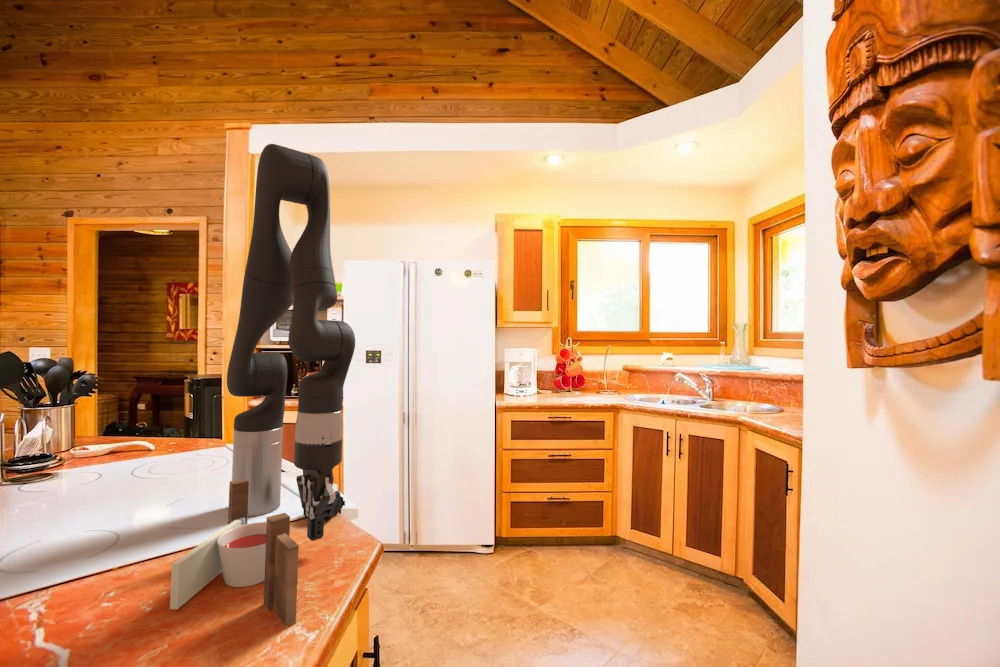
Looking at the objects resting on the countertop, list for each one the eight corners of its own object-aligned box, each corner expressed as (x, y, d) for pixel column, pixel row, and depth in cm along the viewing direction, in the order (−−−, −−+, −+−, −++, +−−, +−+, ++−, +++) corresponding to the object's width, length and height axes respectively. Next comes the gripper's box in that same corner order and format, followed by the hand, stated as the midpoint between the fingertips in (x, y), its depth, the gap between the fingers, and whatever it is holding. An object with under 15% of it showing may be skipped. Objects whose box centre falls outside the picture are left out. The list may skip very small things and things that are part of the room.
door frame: (226, 551, 73) (229, 481, 74) (242, 547, 75) (245, 478, 75) (281, 629, 55) (284, 534, 55) (300, 620, 56) (303, 528, 57)
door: (230, 552, 73) (231, 516, 73) (245, 553, 73) (246, 516, 73) (158, 610, 57) (160, 563, 57) (178, 610, 57) (180, 564, 57)
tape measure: (327, 525, 85) (328, 506, 85) (295, 522, 86) (296, 503, 86) (345, 512, 92) (345, 494, 92) (315, 509, 93) (315, 491, 93)
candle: (206, 596, 61) (207, 551, 61) (226, 564, 70) (228, 524, 70) (276, 588, 64) (277, 544, 64) (287, 557, 72) (289, 519, 72)
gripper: (282, 432, 75) (278, 531, 75) (312, 448, 66) (308, 561, 66) (324, 426, 81) (321, 519, 81) (358, 441, 71) (354, 545, 71)
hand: (315, 537), depth 73 cm, fingers closed
